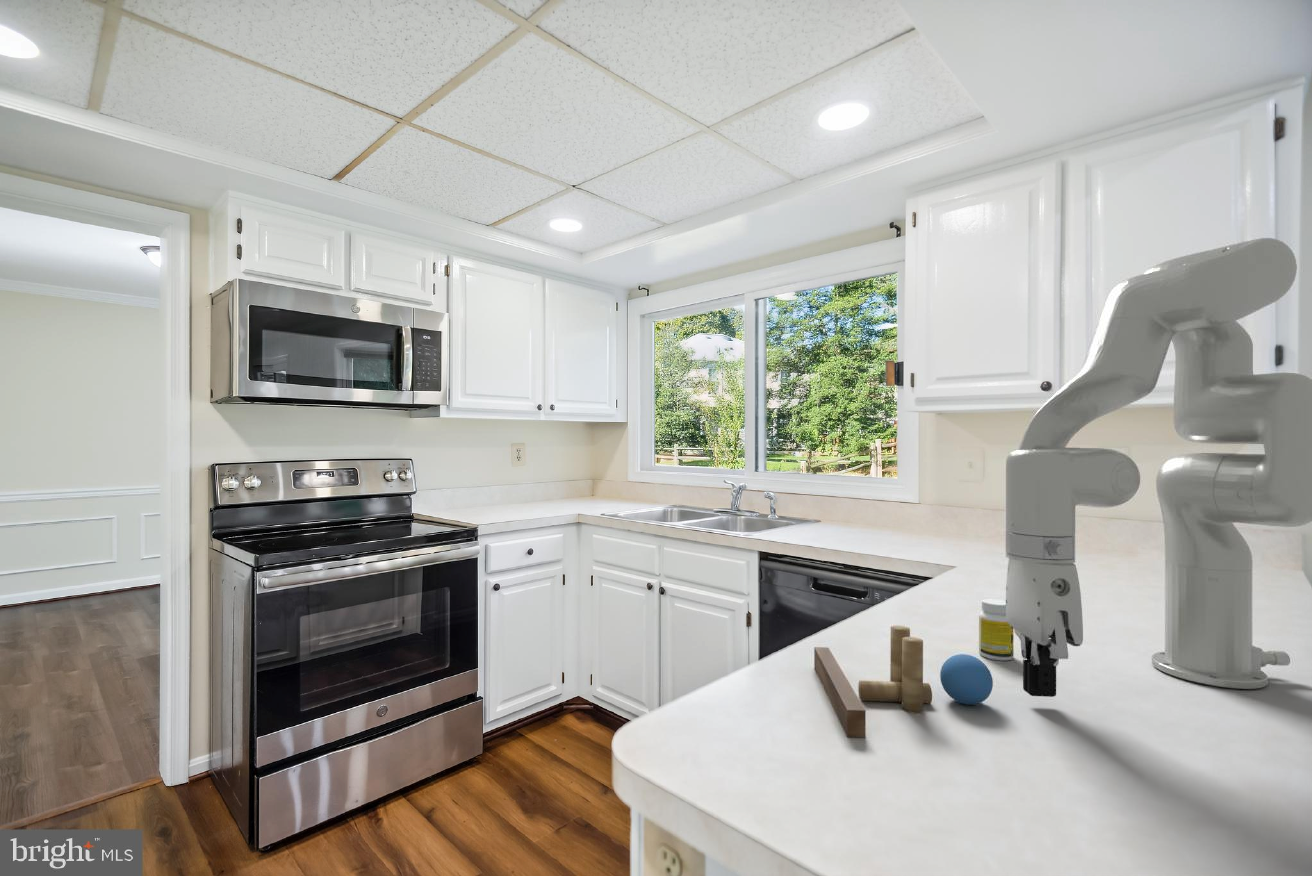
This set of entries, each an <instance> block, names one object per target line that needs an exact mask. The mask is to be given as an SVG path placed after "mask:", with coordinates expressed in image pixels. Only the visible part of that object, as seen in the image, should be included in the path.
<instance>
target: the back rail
mask: <svg viewBox="0 0 1312 876" xmlns="http://www.w3.org/2000/svg"><path fill="white" fill-rule="evenodd" d="M813 649H814V651H813V652H814V653H813V654H814V658H813V660H814V662H813V663H814V664H813V665H814V667H813V668H814V670H815V672H816V675H817V676H818V678H819V680H820V683H821V686H822V687H823V690H824V691H825V693H826V695H827V697H829V698H828V700H829V699H830V700H829V702H830V701H831V702H830V704H831V707H832V708H833V711H834V713H835V714H836V716H837V718H838V721H839V723H840V725H841V727H842V729H843V731H844V734H845V735H846V737H847V738H863V739H865V738H866V735H867V734H866V732H867V731H866V726H867V725H866V723H867V722H866V718H867V717H866V714H867V710H866V709H865V707H864V706H863V704H862V701H861V699H860V698H859V697H858V695H857V694H856V692H855V690H854V687H852V685H851V683H850V682H849V680H848V678H847V676H846V675H845V673H844V671H843V670H842V668H841V666H840V664H839V663H838V662H837V660H836V657H834V654H833V653H832V652H831V650H830V647H828V646H827V647H824V646H823V647H822V646H814V648H813Z"/></svg>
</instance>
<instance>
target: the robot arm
mask: <svg viewBox="0 0 1312 876" xmlns="http://www.w3.org/2000/svg"><path fill="white" fill-rule="evenodd" d="M1297 265H1298V264H1297V259H1296V256H1295V254H1294V252H1293V250H1292V249H1291V248H1290V246H1288V245H1287V244H1286V243H1285V242H1283V241H1281V240H1279V239H1276V238H1271V237H1261V238H1260V237H1259V238H1255V239H1251V240H1247V241H1242V242H1238V243H1234V244H1229V245H1225V246H1221V247H1216V248H1212V249H1209V250H1204V251H1199V252H1196V253H1191V254H1186V255H1183V256H1179V257H1176V258H1172V259H1169V260H1166V261H1163V262H1161V263H1158V264H1156V265H1154V266H1152V267H1150V268H1149V269H1147V270H1146V271H1145V272H1144V273H1142V274H1139V275H1136V276H1133V277H1129V278H1127V279H1126V280H1123V281H1121V282H1120V283H1119V284H1117V285H1116V286H1115V287H1114V288H1113V289H1112V290H1111V292H1110V293H1109V294H1108V297H1107V299H1106V301H1105V304H1104V306H1103V309H1102V312H1101V315H1100V317H1099V320H1098V323H1097V326H1096V329H1095V331H1094V334H1093V337H1092V339H1091V342H1090V346H1089V348H1088V351H1087V353H1086V356H1085V359H1084V362H1083V365H1082V367H1081V370H1080V371H1079V372H1078V373H1077V375H1076V376H1074V377H1073V378H1072V379H1071V380H1070V381H1068V382H1067V383H1066V384H1065V385H1063V386H1062V387H1061V388H1060V389H1059V390H1058V391H1057V392H1055V394H1054V395H1052V396H1051V398H1049V399H1048V400H1047V401H1046V402H1045V403H1044V404H1043V405H1042V406H1041V407H1040V408H1039V409H1038V410H1037V411H1036V413H1035V414H1034V415H1033V417H1032V418H1031V420H1030V421H1029V423H1028V424H1027V426H1026V429H1025V431H1024V434H1023V437H1022V439H1021V440H1020V444H1019V446H1018V450H1014V451H1011V452H1010V453H1009V454H1008V456H1007V457H1006V460H1005V557H1006V558H1007V559H1008V563H1007V572H1006V584H1005V601H1006V618H1007V622H1008V623H1009V625H1010V626H1011V627H1013V632H1014V633H1015V635H1016V636H1017V637H1018V638H1019V640H1020V651H1021V657H1022V658H1023V660H1022V669H1023V670H1022V689H1023V691H1024V692H1026V693H1028V694H1029V696H1031V697H1044V698H1045V697H1047V698H1049V697H1050V698H1052V697H1054V698H1055V696H1056V695H1057V667H1058V665H1059V664H1060V663H1059V661H1060V660H1068V659H1069V650H1068V644H1069V645H1071V646H1073V647H1081V646H1082V645H1083V643H1084V642H1083V641H1084V627H1083V626H1084V622H1083V621H1084V620H1083V605H1082V596H1081V595H1082V594H1081V585H1080V580H1079V573H1078V570H1077V566H1076V564H1075V563H1076V506H1080V507H1090V508H1102V509H1103V508H1104V509H1106V508H1108V509H1109V508H1114V507H1117V506H1121V505H1123V504H1125V503H1127V502H1129V501H1130V500H1131V499H1132V498H1133V497H1134V496H1135V495H1136V493H1137V492H1138V490H1139V488H1140V486H1141V474H1140V470H1139V467H1138V465H1137V464H1136V463H1135V461H1134V459H1132V458H1131V457H1129V456H1128V455H1126V454H1125V453H1123V452H1122V451H1119V450H1115V449H1112V448H1101V447H1097V448H1096V447H1067V446H1068V444H1069V442H1070V440H1071V439H1073V437H1075V435H1076V434H1077V433H1078V432H1079V431H1081V430H1082V428H1084V427H1086V425H1087V426H1088V424H1090V423H1092V422H1093V421H1095V420H1097V419H1099V418H1101V417H1103V416H1106V415H1107V414H1110V413H1112V412H1115V411H1117V410H1120V409H1121V408H1124V407H1126V406H1128V405H1130V404H1133V403H1135V402H1137V401H1139V400H1141V399H1144V398H1145V397H1147V396H1148V395H1150V394H1151V393H1152V392H1153V391H1154V390H1155V388H1156V386H1157V383H1158V381H1159V378H1160V374H1161V371H1162V368H1163V365H1164V362H1165V359H1166V356H1167V353H1168V350H1169V347H1170V344H1171V342H1172V344H1173V349H1174V356H1175V369H1174V389H1173V406H1172V407H1173V410H1172V411H1173V426H1174V430H1175V432H1176V433H1177V435H1178V436H1179V437H1180V438H1181V439H1183V440H1186V441H1188V442H1192V443H1199V444H1211V445H1212V444H1215V445H1217V444H1218V445H1221V444H1222V445H1226V444H1227V445H1231V444H1232V445H1263V448H1264V453H1257V454H1256V453H1234V452H1232V453H1229V452H1228V453H1227V452H1223V453H1222V452H1220V453H1219V452H1193V453H1186V454H1185V453H1184V454H1180V455H1177V456H1175V457H1171V458H1170V459H1168V460H1166V461H1165V462H1164V463H1162V465H1161V466H1160V468H1159V469H1158V471H1157V475H1156V479H1155V484H1156V487H1155V489H1156V495H1157V499H1158V502H1159V506H1160V511H1161V516H1162V522H1163V531H1164V532H1163V533H1164V651H1158V652H1155V653H1153V654H1152V655H1151V664H1152V665H1153V667H1155V668H1156V669H1157V670H1160V671H1161V672H1163V673H1166V674H1167V675H1170V676H1174V677H1176V678H1180V679H1182V680H1186V681H1189V682H1190V681H1191V682H1195V683H1198V684H1202V685H1203V684H1204V685H1209V686H1213V687H1221V688H1227V689H1236V690H1237V689H1239V690H1241V689H1242V690H1255V689H1256V690H1257V689H1262V688H1265V687H1266V686H1268V684H1269V677H1268V675H1267V674H1266V673H1265V672H1264V671H1263V670H1262V668H1264V667H1266V666H1267V665H1271V666H1279V667H1281V666H1289V665H1290V664H1291V658H1290V655H1289V654H1288V653H1287V652H1285V651H1280V650H1279V651H1278V650H1277V651H1276V650H1267V651H1264V650H1263V649H1262V648H1261V647H1258V646H1255V645H1253V555H1252V551H1251V548H1250V546H1249V544H1248V543H1247V541H1246V539H1245V538H1244V536H1243V535H1242V534H1241V532H1240V531H1239V530H1238V529H1237V527H1236V526H1235V525H1234V523H1238V524H1248V525H1249V524H1250V525H1260V526H1266V527H1267V526H1269V527H1279V528H1280V527H1281V528H1297V527H1302V526H1306V525H1308V524H1310V523H1312V378H1311V377H1308V376H1306V375H1305V374H1304V375H1303V374H1301V373H1295V372H1273V373H1272V372H1271V373H1259V374H1254V345H1253V340H1252V337H1251V335H1250V334H1249V333H1248V332H1247V330H1246V329H1245V328H1244V327H1243V326H1242V325H1241V324H1240V323H1239V322H1238V321H1239V320H1241V319H1243V318H1244V317H1247V316H1249V315H1251V314H1254V313H1256V312H1257V311H1260V310H1261V309H1263V308H1266V307H1267V306H1269V305H1271V304H1274V303H1275V302H1277V301H1279V300H1280V299H1281V298H1283V297H1284V296H1285V295H1286V294H1287V293H1288V292H1289V290H1291V288H1292V286H1293V284H1294V281H1295V280H1296V276H1297V269H1298V266H1297Z"/></svg>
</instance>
